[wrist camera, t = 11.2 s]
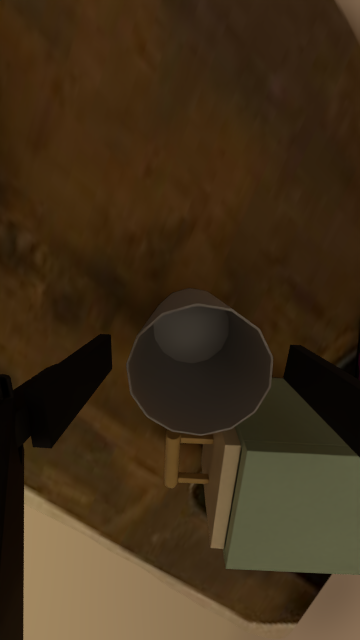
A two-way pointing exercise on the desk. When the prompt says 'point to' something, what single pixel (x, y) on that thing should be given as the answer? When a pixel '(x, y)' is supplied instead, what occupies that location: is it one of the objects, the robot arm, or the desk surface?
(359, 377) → the candy bar box
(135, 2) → the desk surface
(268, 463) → the cabinet
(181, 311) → the cup
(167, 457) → the drawer
